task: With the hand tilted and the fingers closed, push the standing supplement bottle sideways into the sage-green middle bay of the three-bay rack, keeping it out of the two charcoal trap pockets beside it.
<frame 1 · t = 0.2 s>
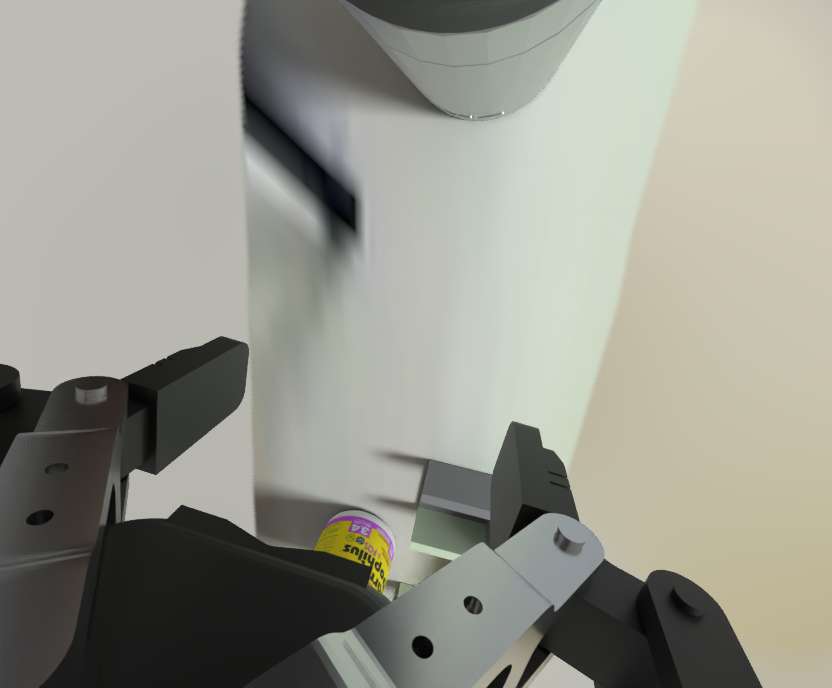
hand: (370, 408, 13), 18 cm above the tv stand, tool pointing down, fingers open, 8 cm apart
bay rack: (443, 557, 38), on the tv stand
supplement bottle: (361, 533, 39), on the tv stand
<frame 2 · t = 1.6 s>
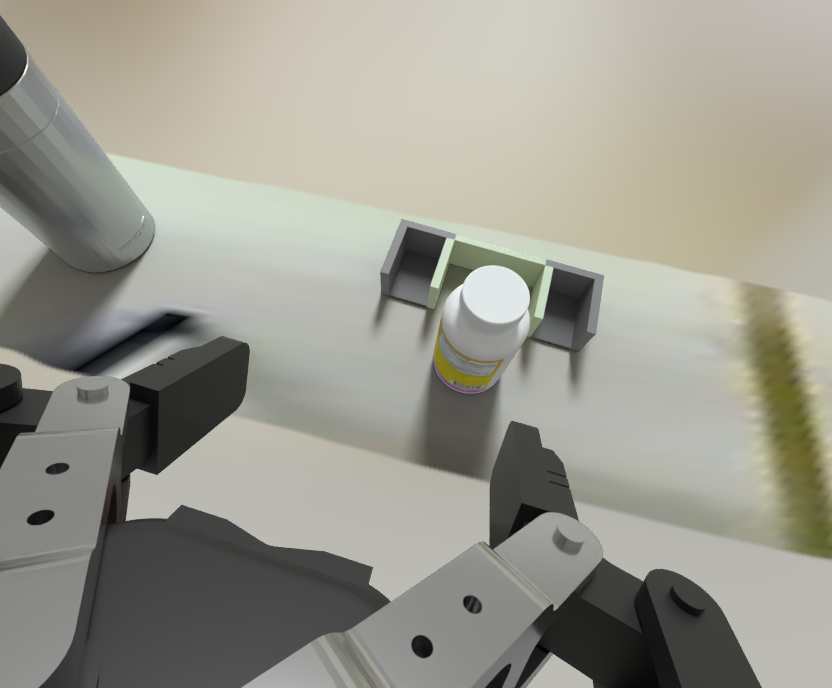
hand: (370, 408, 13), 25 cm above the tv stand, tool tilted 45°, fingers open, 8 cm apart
bay rack: (485, 295, 44), on the tv stand
supplement bottle: (466, 363, 41), on the tv stand
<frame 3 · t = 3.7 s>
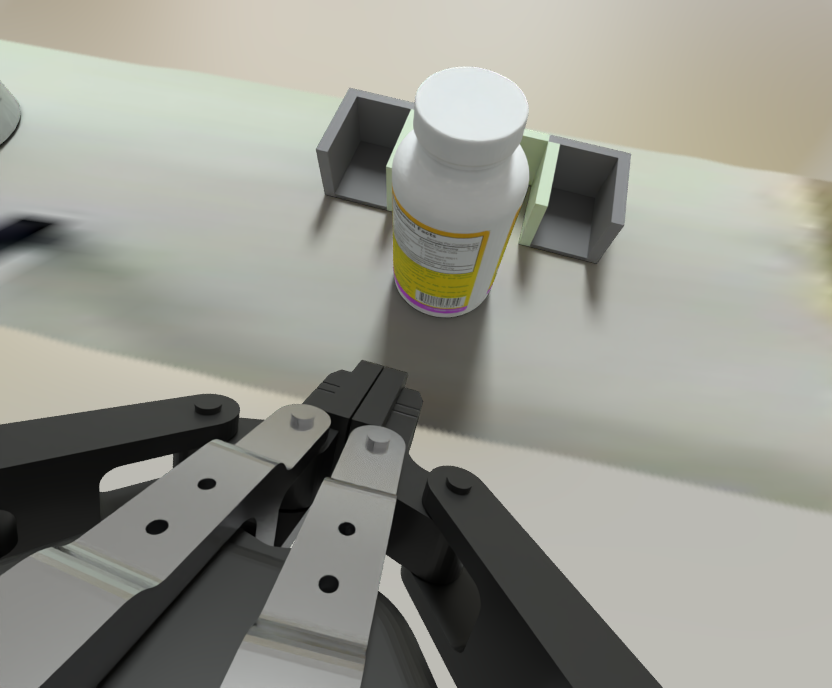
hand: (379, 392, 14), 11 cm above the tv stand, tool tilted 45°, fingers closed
bay rack: (467, 195, 32), on the tv stand
supplement bottle: (441, 280, 29), on the tv stand
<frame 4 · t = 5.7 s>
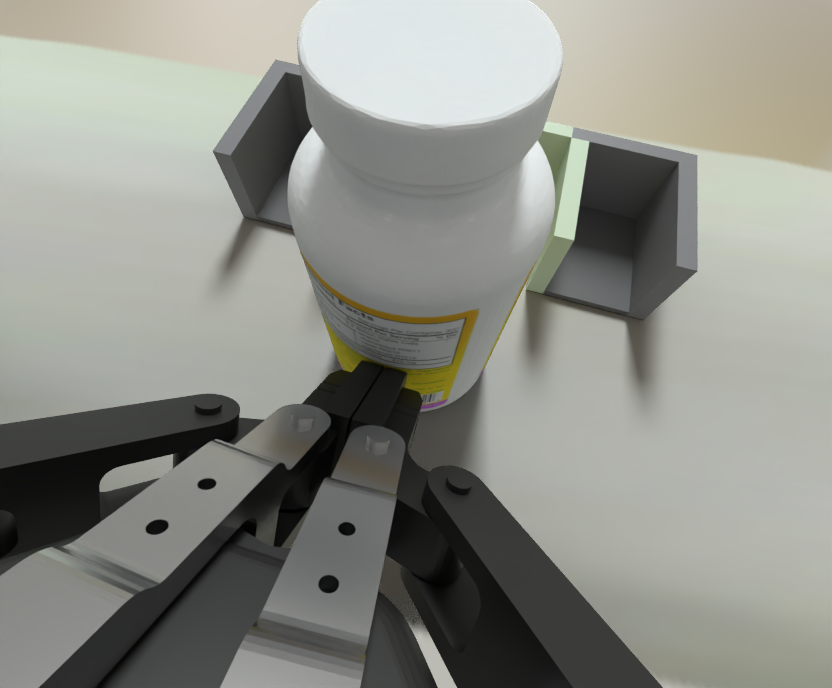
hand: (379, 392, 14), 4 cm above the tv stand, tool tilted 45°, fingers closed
bay rack: (451, 216, 22), on the tv stand
supplement bottle: (411, 346, 19), on the tv stand, touching gripper
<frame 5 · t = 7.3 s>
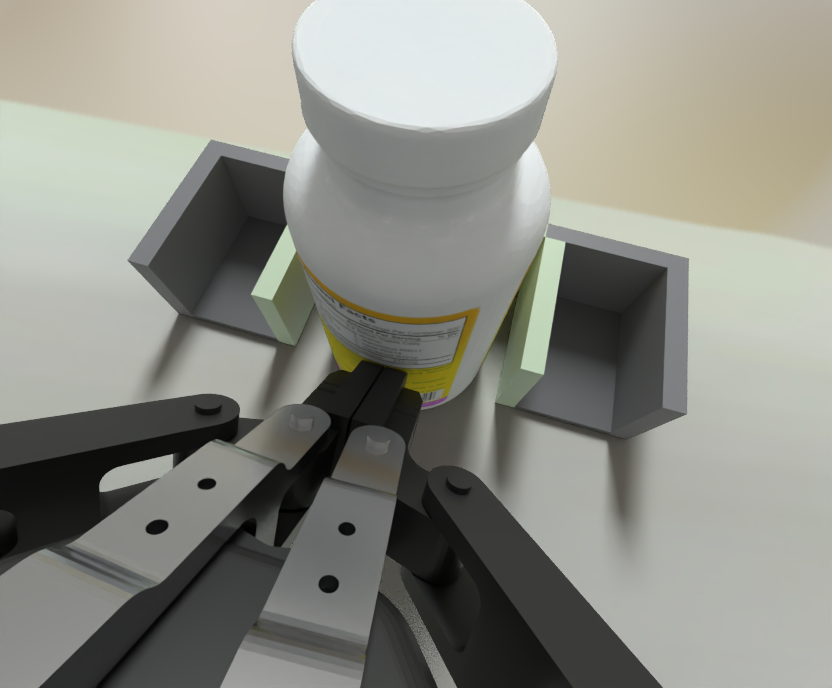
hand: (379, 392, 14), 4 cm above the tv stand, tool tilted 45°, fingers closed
bay rack: (414, 310, 20), on the tv stand
supplement bottle: (408, 345, 19), on the tv stand, touching gripper
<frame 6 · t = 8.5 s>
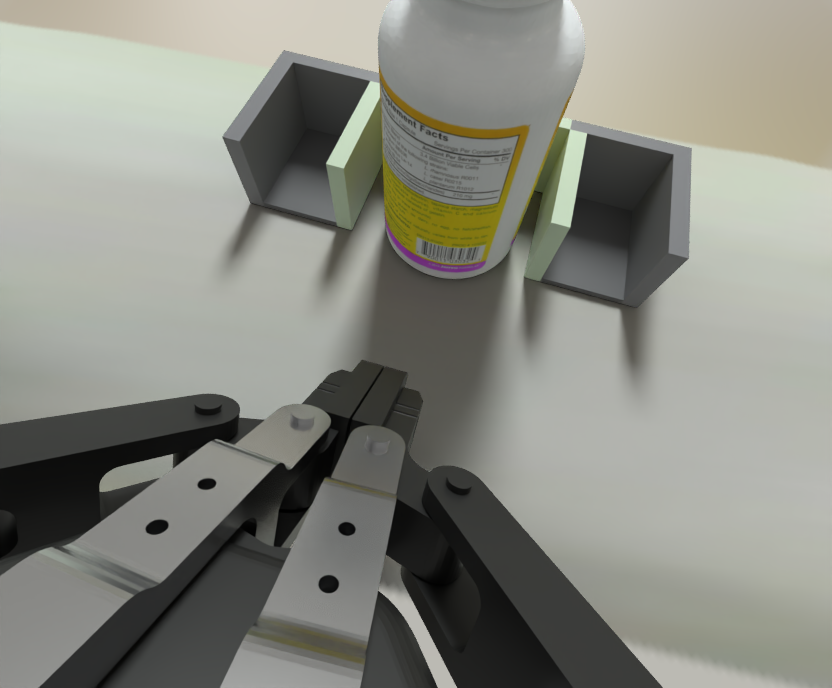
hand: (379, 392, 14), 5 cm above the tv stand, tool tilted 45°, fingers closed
bay rack: (452, 206, 23), on the tv stand
supplement bottle: (447, 233, 22), on the tv stand
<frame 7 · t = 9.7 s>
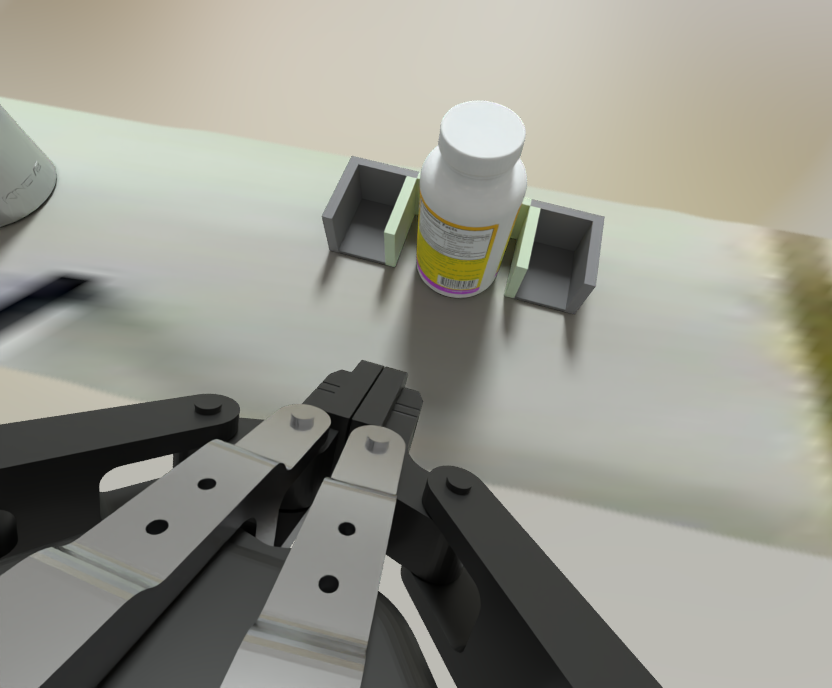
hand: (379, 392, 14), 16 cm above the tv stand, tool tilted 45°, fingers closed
bay rack: (458, 249, 35), on the tv stand
supplement bottle: (455, 268, 35), on the tv stand
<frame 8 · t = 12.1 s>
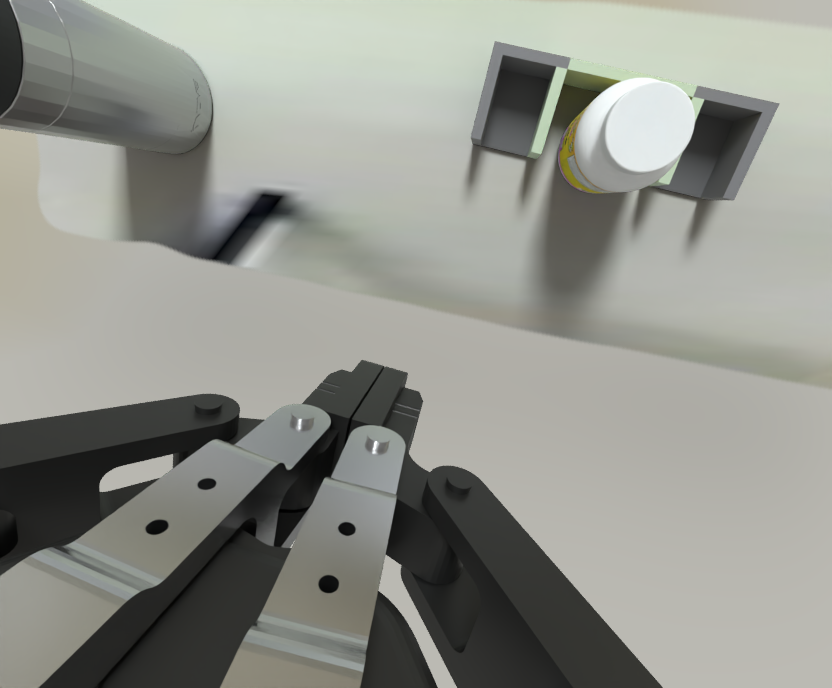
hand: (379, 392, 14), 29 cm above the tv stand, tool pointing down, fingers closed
bay rack: (602, 129, 35), on the tv stand
supplement bottle: (596, 152, 36), on the tv stand
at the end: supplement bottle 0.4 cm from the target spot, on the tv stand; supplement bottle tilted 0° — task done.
